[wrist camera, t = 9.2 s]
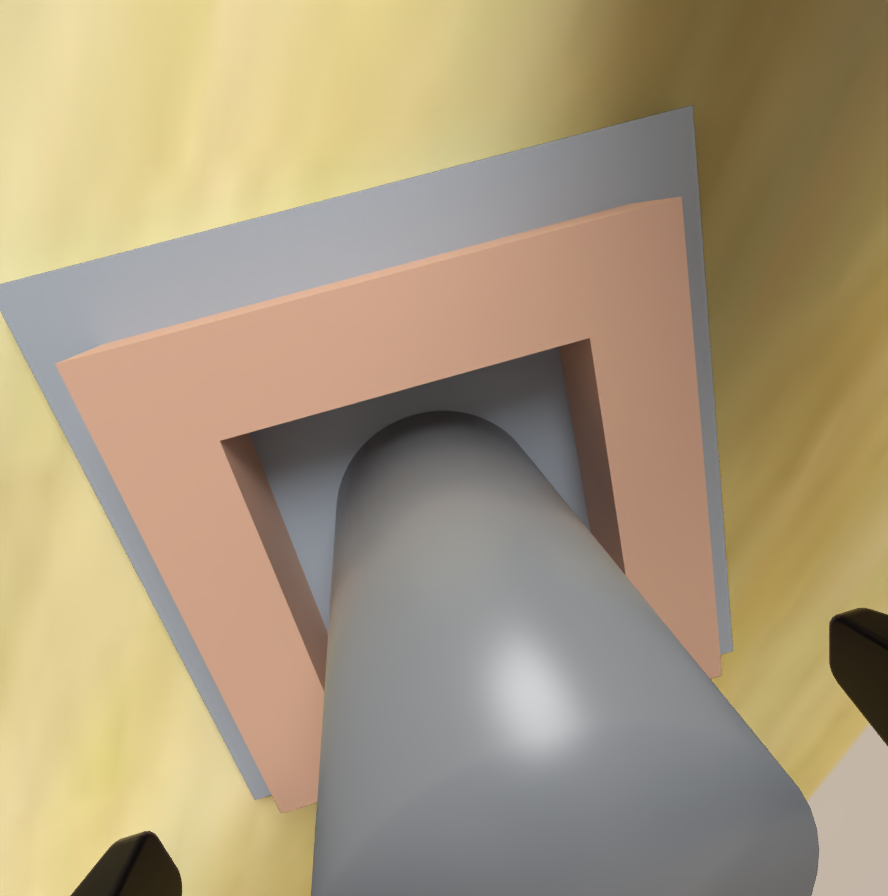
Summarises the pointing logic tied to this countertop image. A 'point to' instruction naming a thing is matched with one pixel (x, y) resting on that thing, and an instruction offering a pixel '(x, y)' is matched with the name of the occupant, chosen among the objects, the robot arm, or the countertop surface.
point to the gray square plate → (390, 396)
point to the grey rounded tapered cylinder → (522, 701)
